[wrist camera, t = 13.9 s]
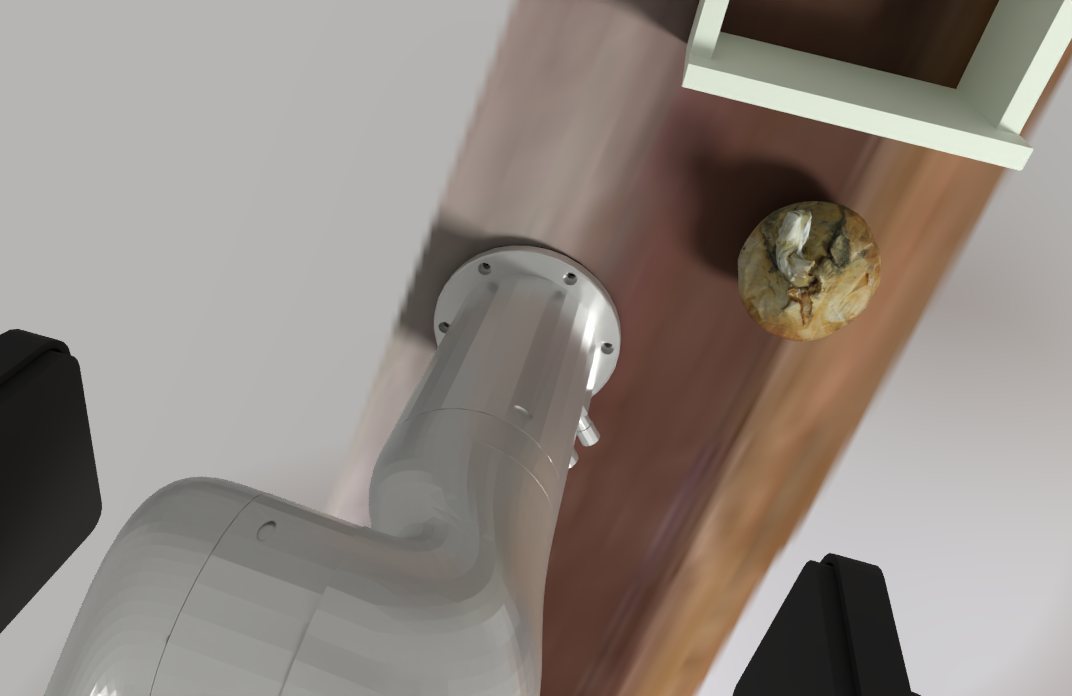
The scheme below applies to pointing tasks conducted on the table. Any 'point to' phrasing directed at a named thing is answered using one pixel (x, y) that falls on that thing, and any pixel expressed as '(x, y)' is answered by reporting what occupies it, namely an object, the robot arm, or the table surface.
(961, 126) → the frame
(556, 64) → the table surface
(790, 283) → the onion
